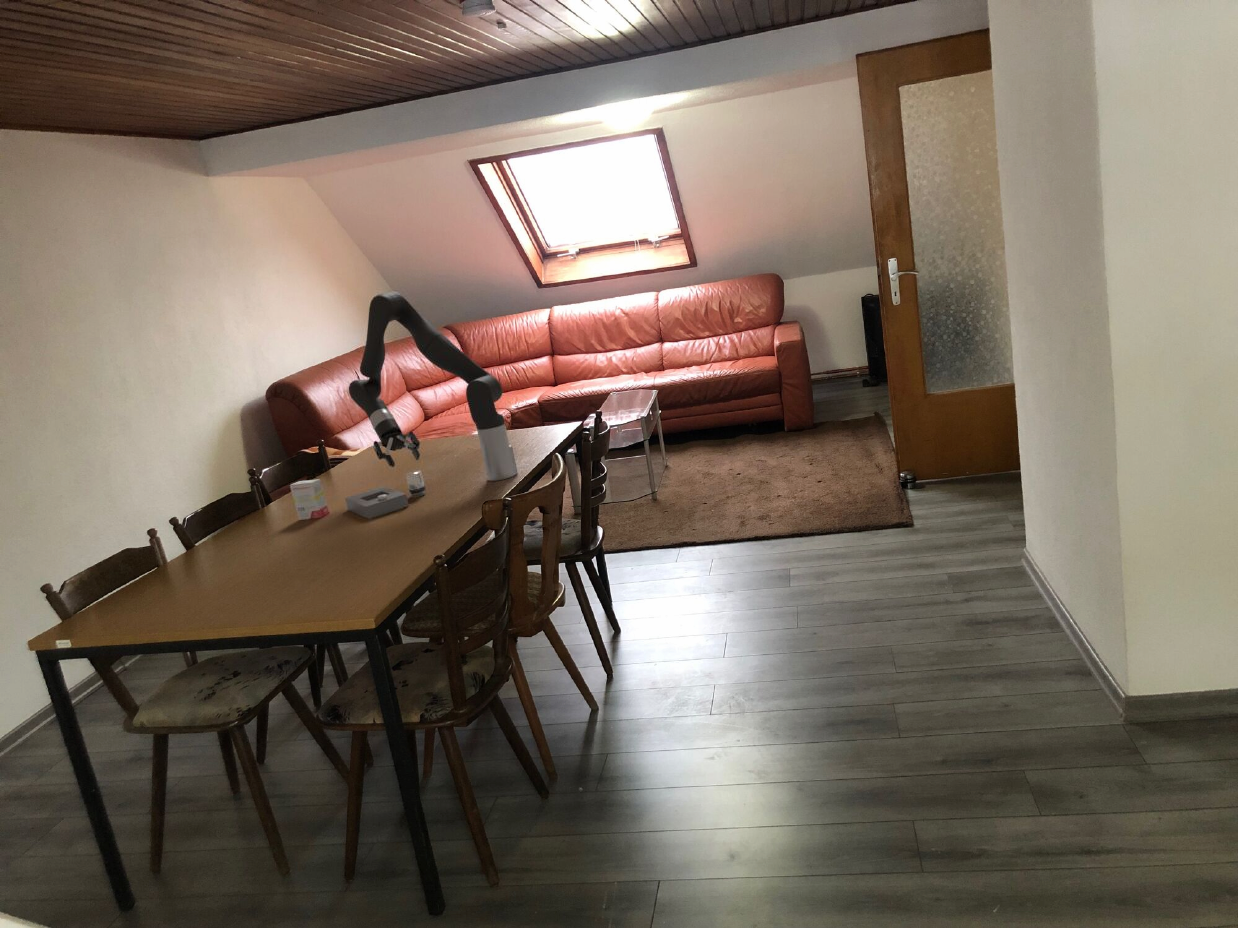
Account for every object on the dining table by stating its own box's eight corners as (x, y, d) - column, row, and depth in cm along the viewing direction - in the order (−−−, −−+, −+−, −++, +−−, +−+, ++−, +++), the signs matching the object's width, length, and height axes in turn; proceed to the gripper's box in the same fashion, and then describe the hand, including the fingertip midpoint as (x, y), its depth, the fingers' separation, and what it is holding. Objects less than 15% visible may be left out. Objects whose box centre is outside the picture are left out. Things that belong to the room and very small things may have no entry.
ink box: (330, 513, 306) (320, 477, 303) (321, 518, 301) (312, 482, 298) (307, 515, 308) (298, 480, 306) (298, 520, 304) (289, 485, 301)
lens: (422, 491, 311) (417, 469, 310) (429, 493, 307) (423, 471, 305) (408, 496, 309) (402, 474, 307) (414, 498, 304) (409, 476, 303)
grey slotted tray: (385, 497, 312) (382, 483, 311) (408, 506, 296) (405, 490, 295) (347, 509, 306) (344, 495, 304) (369, 519, 289) (365, 503, 288)
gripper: (365, 423, 309) (386, 461, 303) (406, 412, 317) (427, 449, 310) (364, 438, 315) (384, 475, 308) (403, 427, 322) (424, 463, 316)
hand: (405, 461), depth 309 cm, fingers open, 8 cm apart
